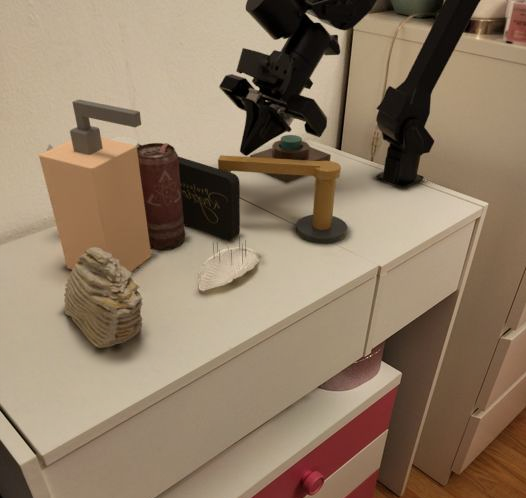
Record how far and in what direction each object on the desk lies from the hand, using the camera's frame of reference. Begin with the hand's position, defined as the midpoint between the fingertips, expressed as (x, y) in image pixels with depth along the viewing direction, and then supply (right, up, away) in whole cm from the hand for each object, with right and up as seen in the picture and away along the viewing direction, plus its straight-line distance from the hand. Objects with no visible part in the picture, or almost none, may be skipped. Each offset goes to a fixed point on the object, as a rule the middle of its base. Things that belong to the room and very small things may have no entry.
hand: (242, 153), depth 84 cm
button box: (+8, +6, +23) cm, 25 cm away
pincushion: (-2, -20, -7) cm, 21 cm away
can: (-12, -13, +1) cm, 18 cm away
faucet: (+12, -11, +3) cm, 17 cm away
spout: (+5, -4, -1) cm, 7 cm away
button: (+8, +9, +21) cm, 24 cm away
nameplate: (-10, -9, +5) cm, 14 cm away
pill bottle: (-19, -7, +8) cm, 22 cm away
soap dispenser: (-17, -18, -5) cm, 25 cm away
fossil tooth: (-16, -27, -16) cm, 36 cm away
